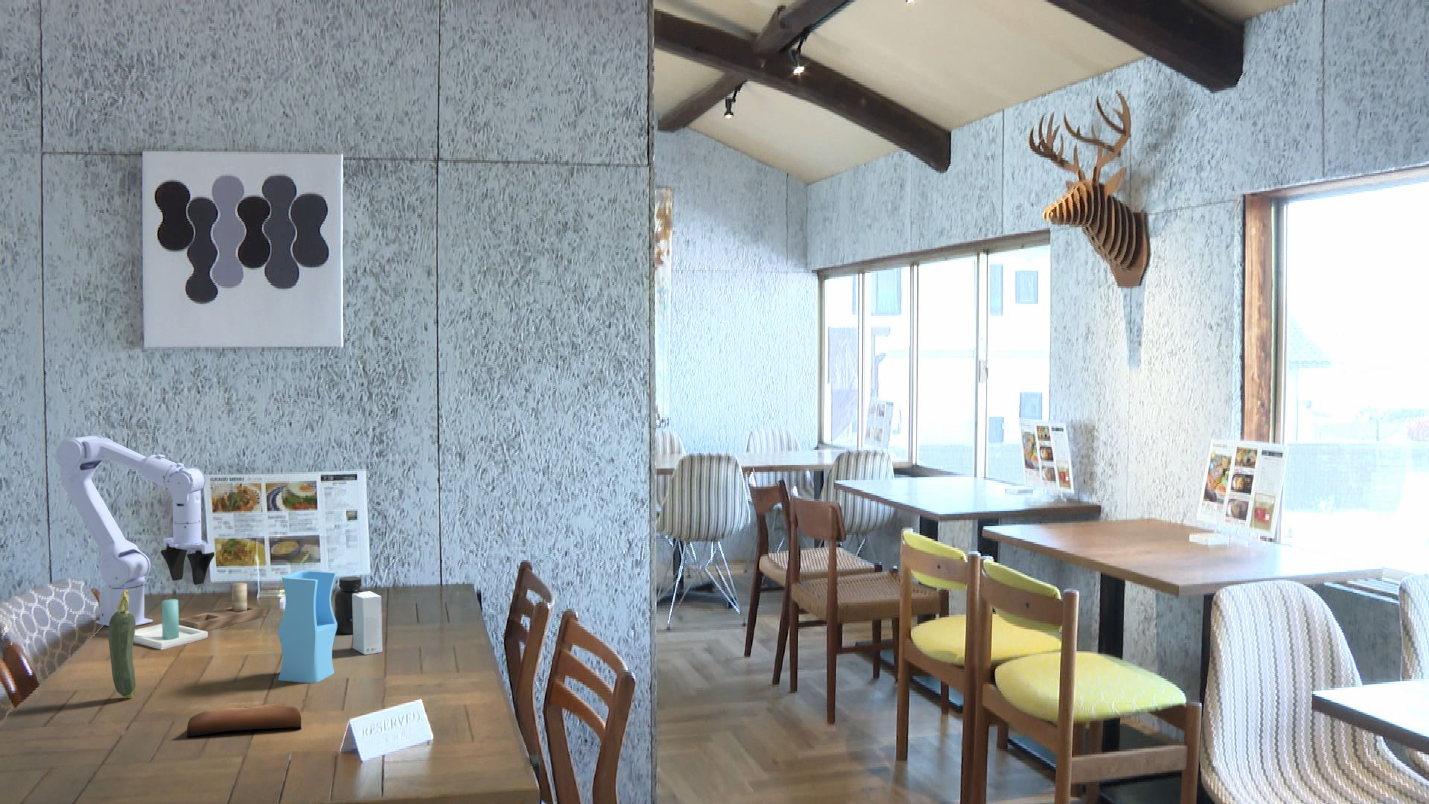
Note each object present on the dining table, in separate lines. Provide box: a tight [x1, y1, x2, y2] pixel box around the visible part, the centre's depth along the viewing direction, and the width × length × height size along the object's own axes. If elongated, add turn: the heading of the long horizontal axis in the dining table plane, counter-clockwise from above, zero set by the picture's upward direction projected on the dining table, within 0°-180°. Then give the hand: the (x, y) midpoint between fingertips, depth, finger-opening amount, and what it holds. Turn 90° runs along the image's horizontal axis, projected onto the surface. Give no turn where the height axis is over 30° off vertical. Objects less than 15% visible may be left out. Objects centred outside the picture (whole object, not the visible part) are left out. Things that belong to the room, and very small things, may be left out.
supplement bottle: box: [333, 576, 365, 635], centre depth 256 cm, size 7×7×12 cm
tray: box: [133, 623, 209, 651], centre depth 246 cm, size 14×11×1 cm
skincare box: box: [352, 590, 383, 655], centre depth 240 cm, size 6×4×12 cm
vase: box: [277, 569, 338, 684], centre depth 222 cm, size 8×8×20 cm
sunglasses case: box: [186, 703, 302, 738], centre depth 193 cm, size 18×7×7 cm
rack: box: [179, 603, 267, 632], centre depth 261 cm, size 18×7×2 cm, turn 150°
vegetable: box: [107, 589, 136, 700], centre depth 205 cm, size 4×4×20 cm
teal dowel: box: [161, 598, 180, 640], centre depth 245 cm, size 3×3×8 cm
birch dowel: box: [231, 582, 248, 613], centre depth 264 cm, size 3×3×8 cm
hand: (188, 581), depth 255 cm, fingers open, 7 cm apart
